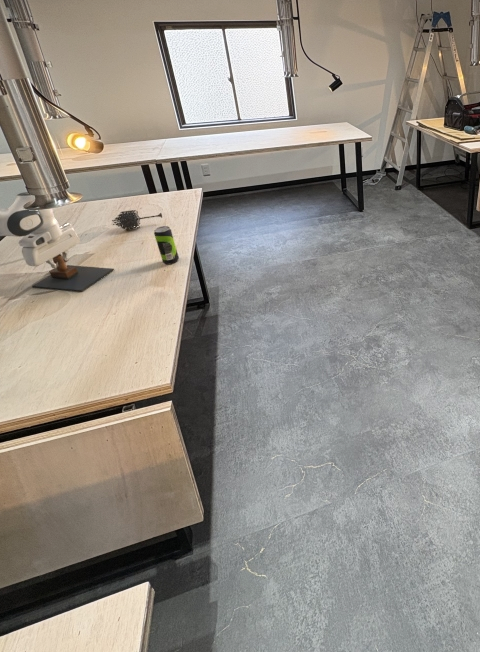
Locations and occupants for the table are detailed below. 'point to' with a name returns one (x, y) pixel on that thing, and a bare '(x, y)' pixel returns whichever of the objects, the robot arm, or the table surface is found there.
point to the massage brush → (130, 219)
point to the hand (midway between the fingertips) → (60, 264)
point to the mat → (75, 279)
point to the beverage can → (166, 244)
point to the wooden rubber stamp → (62, 269)
